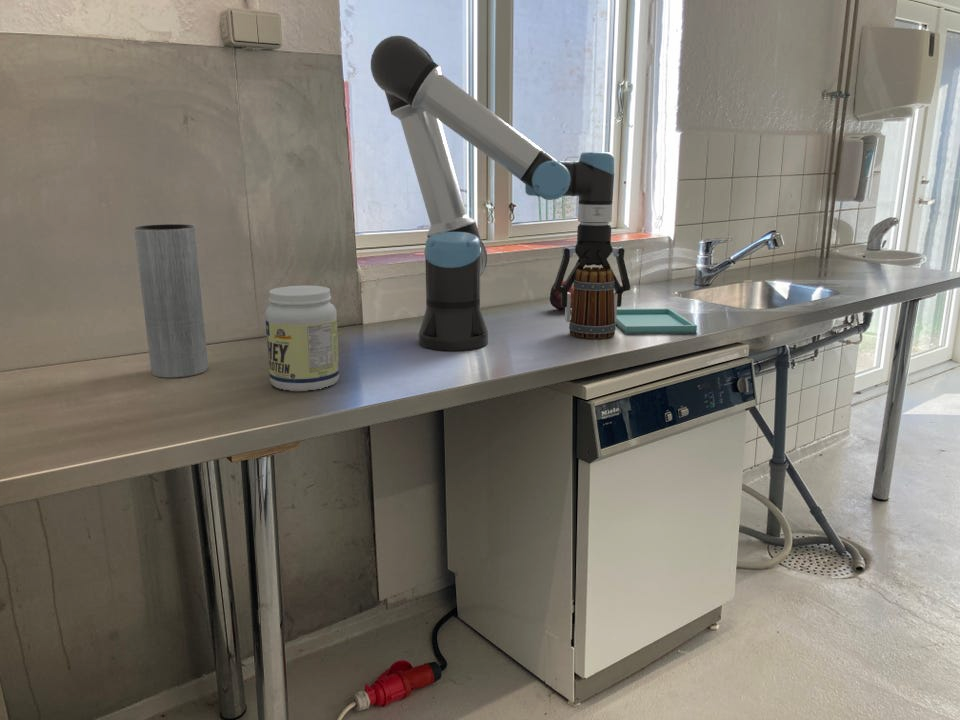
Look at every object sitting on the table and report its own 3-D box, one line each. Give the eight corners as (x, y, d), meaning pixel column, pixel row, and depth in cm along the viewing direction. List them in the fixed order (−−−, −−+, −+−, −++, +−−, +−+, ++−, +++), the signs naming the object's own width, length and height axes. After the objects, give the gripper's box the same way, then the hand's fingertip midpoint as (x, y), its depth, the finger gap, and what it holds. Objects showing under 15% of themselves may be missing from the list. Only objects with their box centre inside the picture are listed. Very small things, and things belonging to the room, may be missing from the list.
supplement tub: (257, 383, 132) (249, 289, 128) (316, 370, 140) (311, 281, 136) (293, 398, 124) (286, 298, 119) (353, 383, 132) (349, 289, 128)
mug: (614, 341, 163) (617, 273, 159) (566, 338, 165) (568, 272, 161) (616, 326, 178) (619, 264, 174) (572, 324, 180) (574, 262, 176)
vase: (148, 380, 134) (129, 229, 127) (155, 366, 143) (138, 224, 136) (206, 376, 136) (192, 228, 129) (209, 362, 146) (196, 223, 138)
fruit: (583, 312, 195) (584, 282, 192) (557, 314, 192) (558, 283, 190) (569, 307, 202) (570, 277, 199) (544, 309, 199) (545, 279, 197)
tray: (625, 334, 170) (625, 326, 169) (606, 315, 190) (606, 309, 189) (696, 333, 171) (696, 325, 170) (669, 315, 191) (670, 308, 190)
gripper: (546, 224, 161) (544, 324, 167) (648, 224, 162) (642, 323, 168) (542, 222, 168) (539, 317, 174) (640, 222, 169) (634, 317, 175)
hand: (590, 320), depth 171 cm, fingers closed on mug, 10 cm apart
